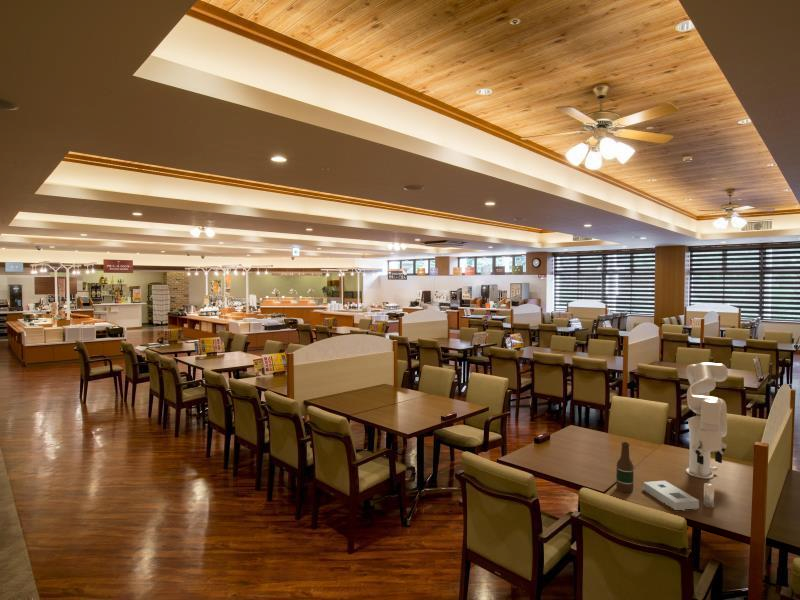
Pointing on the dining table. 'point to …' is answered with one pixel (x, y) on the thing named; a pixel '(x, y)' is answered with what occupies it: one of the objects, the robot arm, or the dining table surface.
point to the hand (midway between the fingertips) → (709, 462)
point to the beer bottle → (624, 470)
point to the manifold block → (670, 495)
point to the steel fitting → (708, 495)
